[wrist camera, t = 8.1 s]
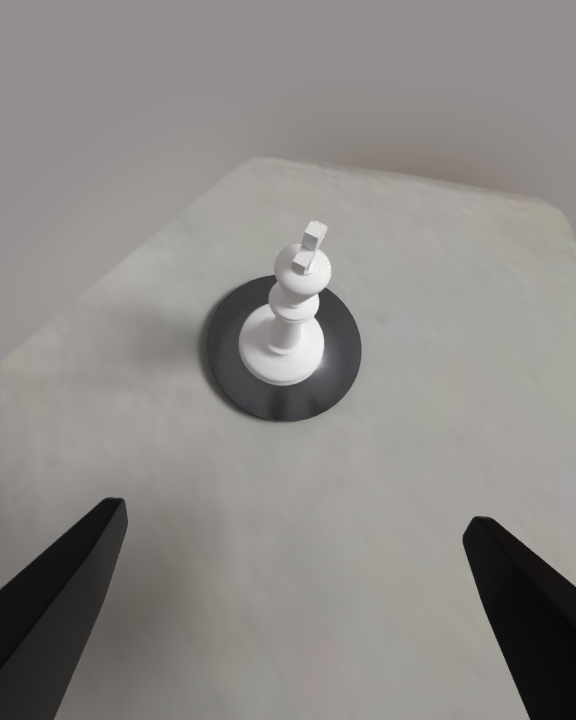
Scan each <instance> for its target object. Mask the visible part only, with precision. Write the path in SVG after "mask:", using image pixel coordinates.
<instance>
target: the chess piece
mask: <svg viewBox="0 0 576 720" xmlns="http://www.w3.org/2000/svg"><path fill="white" fill-rule="evenodd" d="M327 227H328V226H326V225H323V224H321V223H319V222H317V221H315V222H312V221H311V222H310V224H309V225H308V227H307V229H306V231H305V233H304V237H303V241H302V244H294V245H290V246H288V247H286V248H285V249H283V250H282V251H281V252H280V253H279V255H278V256H277V258H276V261H275V265H274V271H275V276H276V279H277V281H278V282H277V283H276V284H275V285H274V286H273V287H272V289H271V291H270V293H269V304H266V305H263V306H261V307H259V308H258V309H256V310H255V311H254V312H252V313H251V314H250V315H249V317H248V318H247V319H246V321H245V322H244V324H243V327H242V329H241V332H240V336H239V352H240V356H241V359H242V361H243V363H244V365H245V366H246V368H247V369H248V370H249V371H250V372H251V373H252V374H253V375H254V376H255V377H257V378H258V379H260V380H262V381H264V382H266V383H269V384H273V385H280V386H285V385H292V384H296V383H299V382H301V381H303V380H305V379H306V378H308V377H309V376H310V375H311V374H312V373H313V372H314V371H315V370H316V368H317V367H318V365H319V363H320V361H321V359H322V355H323V350H324V337H323V332H322V329H321V327H320V325H319V323H318V322H317V320H316V319H315V318H314V317H313V316H314V315H315V314H316V312H317V310H318V307H319V297H318V293H319V292H321V291H322V290H323V289H324V288H325V287H326V285H327V284H328V282H329V280H330V277H331V266H330V262H329V260H328V258H327V257H326V255H325V254H324V253H323V252H322V251H321V250H319V249H318V247H319V245H320V243H321V241H322V240H323V238H324V236H325V233H326V230H327Z"/></svg>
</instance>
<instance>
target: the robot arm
mask: <svg viewBox="0 0 576 720" xmlns="http://www.w3.org/2000/svg"><path fill="white" fill-rule="evenodd" d="M127 525H128V518H127V511H126V504H125V500H124V499H123V498H112V497H108V498H105V499H103V500H102V501H101V502H100V503H99V504H98V505H96V506H95V507H94V508H93V509H92V510H91V511H90V512H88V513H87V514H86V515H85V516H84V517H83V518H82V519H80V520H79V521H78V522H77V523H76V524H75V525H74V526H72V527H71V528H70V529H69V530H68V531H67V532H65V533H64V534H63V535H62V536H61V537H60V538H59V539H57V540H56V541H55V542H54V543H53V544H52V545H51V546H49V547H48V548H47V549H46V550H45V551H44V552H43V553H41V554H40V555H39V556H38V557H37V558H36V559H35V560H33V561H32V562H31V563H30V564H29V565H28V566H27V567H25V568H24V569H23V570H22V571H21V572H20V573H19V574H17V575H16V576H15V577H14V578H13V579H12V580H11V581H9V582H8V583H7V584H6V585H5V586H4V587H3V588H1V589H0V720H54V718H55V715H56V713H57V711H58V708H59V706H60V704H61V701H62V699H63V697H64V694H65V692H66V690H67V687H68V685H69V682H70V680H71V678H72V675H73V673H74V671H75V668H76V666H77V664H78V661H79V659H80V657H81V654H82V652H83V649H84V647H85V645H86V642H87V640H88V638H89V635H90V633H91V631H92V628H93V626H94V624H95V621H96V619H97V616H98V614H99V612H100V609H101V607H102V604H103V602H104V599H105V596H106V593H107V590H108V587H109V584H110V581H111V578H112V574H113V571H114V568H115V565H116V562H117V559H118V555H119V552H120V549H121V546H122V543H123V540H124V536H125V533H126V530H127ZM463 546H464V549H465V552H466V555H467V558H468V561H469V564H470V567H471V571H472V574H473V577H474V580H475V583H476V586H477V589H478V592H479V595H480V598H481V601H482V604H483V607H484V610H485V612H486V615H487V617H488V620H489V622H490V625H491V627H492V629H493V632H494V634H495V637H496V639H497V641H498V644H499V646H500V649H501V651H502V653H503V656H504V658H505V661H506V663H507V665H508V668H509V670H510V673H511V675H512V677H513V680H514V682H515V685H516V687H517V689H518V692H519V694H520V697H521V699H522V701H523V704H524V706H525V709H526V711H527V713H528V716H529V718H530V720H576V587H575V586H574V585H573V584H572V583H570V582H569V581H568V580H567V579H566V578H564V577H563V576H562V575H561V574H559V573H558V572H557V571H556V570H555V569H553V568H552V567H551V566H550V565H549V564H547V563H546V562H545V561H544V560H543V559H541V558H540V557H539V556H538V555H536V554H535V553H534V552H533V551H532V550H530V549H529V548H528V547H527V546H526V545H524V544H523V543H522V542H521V541H519V540H518V539H517V538H516V537H515V536H513V535H512V534H511V533H510V532H509V531H507V530H506V529H505V528H504V527H502V526H501V525H500V524H499V523H498V522H496V521H495V520H494V519H492V518H490V517H484V516H475V517H474V518H473V519H472V520H471V522H470V524H469V525H468V527H467V529H466V531H465V532H464V534H463Z"/></svg>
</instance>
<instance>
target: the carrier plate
mask: <svg viewBox="0 0 576 720" xmlns="http://www.w3.org/2000/svg"><path fill="white" fill-rule="evenodd" d="M277 282H278V281H277V279H276V276H275V275H272V276H265V277H261V278H258V279H255V280H252V281H250V282H248V283H246V284H244V285H242V286H240V287H239V288H238V289H236V290H235V291H233V292H232V293H231V294H230V295H229V296H228V297H227V298H226V299H225V300H224V302H223V303H222V304H221V305H220V307H219V308H218V310H217V312H216V313H215V316H214V318H213V320H212V323H211V326H210V330H209V336H208V354H209V361H210V364H211V367H212V371H213V373H214V375H215V377H216V379H217V382H218V383H219V385H220V386H221V388H222V390H223V391H224V392H225V393H226V395H227V396H228V397H229V398H230V399H231V400H232V401H233V402H234V403H235V404H237V405H238V406H239V407H241V408H242V409H244V410H245V411H247V412H249V413H251V414H253V415H255V416H257V417H260V418H263V419H267V420H271V421H278V422H295V421H301V420H306V419H309V418H312V417H315V416H317V415H319V414H321V413H323V412H325V411H327V410H328V409H330V408H331V407H333V406H334V405H335V404H336V403H338V402H339V401H340V400H341V399H342V398H343V397H344V396H345V394H346V393H347V392H348V391H349V389H350V388H351V386H352V384H353V383H354V381H355V378H356V376H357V374H358V370H359V366H360V361H361V340H360V334H359V331H358V327H357V325H356V323H355V320H354V318H353V316H352V315H351V313H350V311H349V310H348V308H347V307H346V306H345V304H344V303H343V302H342V301H341V300H340V299H339V298H338V297H337V296H336V295H335V294H334V293H332V292H331V291H330V290H328V289H327V288H324V289H323V290H322V291H321V292H319V293H318V297H319V307H318V310H317V312H316V314H315V315H314V316H313V317H314V318H315V319H316V320H317V322H318V323H319V325H320V327H321V329H322V332H323V337H324V350H323V355H322V359H321V361H320V363H319V365H318V367H317V368H316V370H315V371H314V372H313V373H312V374H311V375H310V376H309V377H308V378H306V379H305V380H303V381H301V382H299V383H296V384H292V385H285V386H280V385H273V384H269V383H266V382H264V381H262V380H260V379H258V378H257V377H255V376H254V375H253V374H252V373H251V372H250V371H249V370H248V369H247V368H246V366H245V365H244V363H243V361H242V359H241V356H240V352H239V336H240V332H241V329H242V327H243V324H244V322H245V321H246V319H247V318H248V317H249V315H250V314H251V313H252V312H254V311H255V310H256V309H258V308H259V307H261V306H263V305H266V304H269V293H270V291H271V289H272V287H273V286H274V285H275V284H276V283H277Z"/></svg>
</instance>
